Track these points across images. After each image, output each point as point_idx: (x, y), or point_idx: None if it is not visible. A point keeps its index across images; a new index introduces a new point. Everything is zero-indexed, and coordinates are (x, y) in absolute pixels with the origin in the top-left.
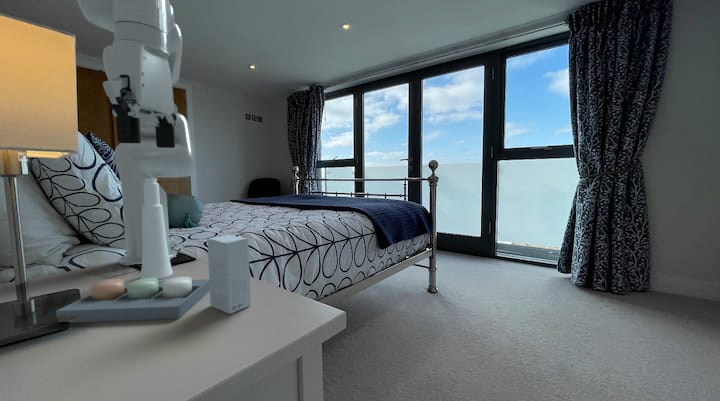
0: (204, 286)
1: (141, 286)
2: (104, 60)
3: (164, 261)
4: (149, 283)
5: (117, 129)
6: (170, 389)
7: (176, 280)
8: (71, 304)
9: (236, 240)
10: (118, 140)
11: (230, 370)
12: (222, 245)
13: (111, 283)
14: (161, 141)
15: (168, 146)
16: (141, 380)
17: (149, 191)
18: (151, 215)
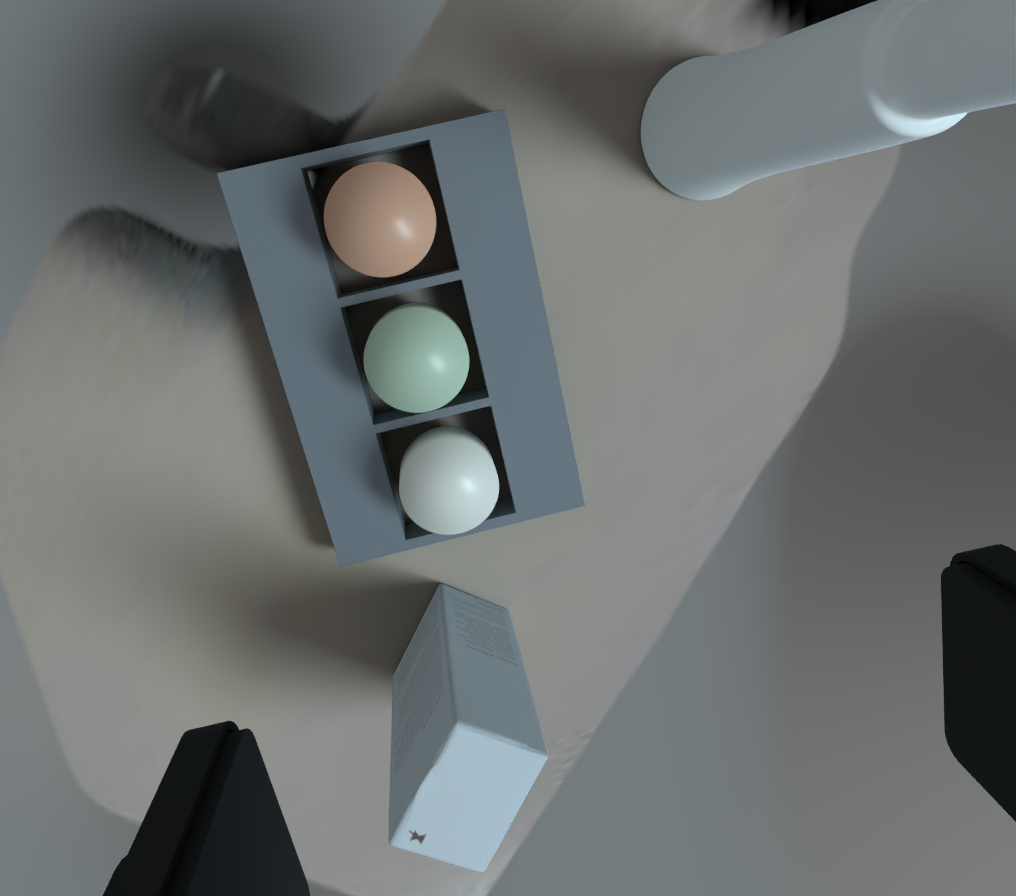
0: (524, 518)
1: (378, 394)
2: None
3: (722, 184)
4: (408, 401)
5: (136, 851)
6: (77, 749)
7: (455, 479)
8: (272, 170)
9: (434, 857)
10: (182, 745)
11: None
12: (399, 812)
13: (380, 241)
14: (991, 669)
15: (946, 707)
16: (81, 676)
17: (965, 63)
18: (825, 116)
